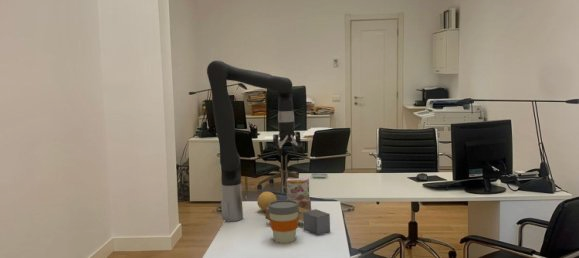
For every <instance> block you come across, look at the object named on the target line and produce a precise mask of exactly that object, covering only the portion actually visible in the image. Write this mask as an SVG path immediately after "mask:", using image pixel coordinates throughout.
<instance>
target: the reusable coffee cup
mask: <svg viewBox="0 0 579 258" xmlns="http://www.w3.org/2000/svg"><path fill="white" fill-rule="evenodd" d="M268 211H269V213H270V218H269V219H270V220H269V223H270V224H269V225H270V229H271V230H272V235H273V240H275V242H276V243H278V242H280V243H279V244H288V243H292V241H293V242H294V241H296V237H297V229H298V226H299V220H298V211H299V207H298V203H297V202H296V201H292V200H287V199H279V200H278V199H277V201H274V202H271V203H270V204H269V210H268Z"/></svg>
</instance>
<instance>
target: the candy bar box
mask: <svg viewBox="0 0 579 258" xmlns="http://www.w3.org/2000/svg"><path fill="white" fill-rule="evenodd" d="M285 186H286V188H285V190H286V200H292V201H293V200H297V199H298V200H302V199H307V200H310V178H309V177H308V178H286V180H285Z"/></svg>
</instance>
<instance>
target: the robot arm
mask: <svg viewBox="0 0 579 258" xmlns="http://www.w3.org/2000/svg"><path fill="white" fill-rule="evenodd" d="M206 74H207V78H208V83H209V86H210V87H209V88H210V90H211V100H212V113H213V119H214V125H215V130H216V134H217V138H218V143H219V144H218V145H219V164H220V168H221V169H220V170H221V177H220V178H221V192H222V193H221V196H222V197H221V198H222V199H221V200H220V203H221V204H220V205H221V206H220V208H221V220H223V221H225V222H227V223H230V222H238V221H242V220H243V219H244V209H243V207H244V206H243V191H242V169H241V168H242V167H241V157H240V154H239V152H238V150H237V146H236V137H235V136H236V126H235V125H236V124H235V123H236V122H235V113H234V108H233V104H232V101H231V98H230V95H229V92H228V82H227V81H232V82H238V83H241V84H245V85H249V86H252V87H255V88H260V89H265V90H271V91H275V92H277V96H278V100H277V109H278V113H277V122H278V133H277V134H276V133H274V134H273V136H272V147H273V148H276V151H277V155H278V157H283V150H282V147H283V145H285V143H291V145H292V153H293V154H294V155H297V153H298V151H299V149H298V146H299V145H301V144H302V139H301V132H300V131H295V129H296V128H295V114H294V113H295V111H294V101H293V82H292V80H291V79H290V78H288V77H285V76H284V77H283V76H277V75H272V74H270V73H267V72H263V71H262V72H261V71H255V70H251V69H244V68H240V67H237V66H234V65H230V64H228V63H226V62H224V61H222V60H213V61H211V62H210V63H208V65H207V67H206Z"/></svg>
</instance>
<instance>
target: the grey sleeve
mask: <svg viewBox="0 0 579 258" xmlns="http://www.w3.org/2000/svg"><path fill="white" fill-rule="evenodd" d="M303 221H304V222H303V231H305V232H307V233H310V234H312V235H314V236H316V237H317V236H323V235H325V234H329V233H331V216H330V213H329V212H328V213H327V212H326V211H321V210H319V209H316V208H314V209H311V211H307V212H303Z"/></svg>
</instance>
